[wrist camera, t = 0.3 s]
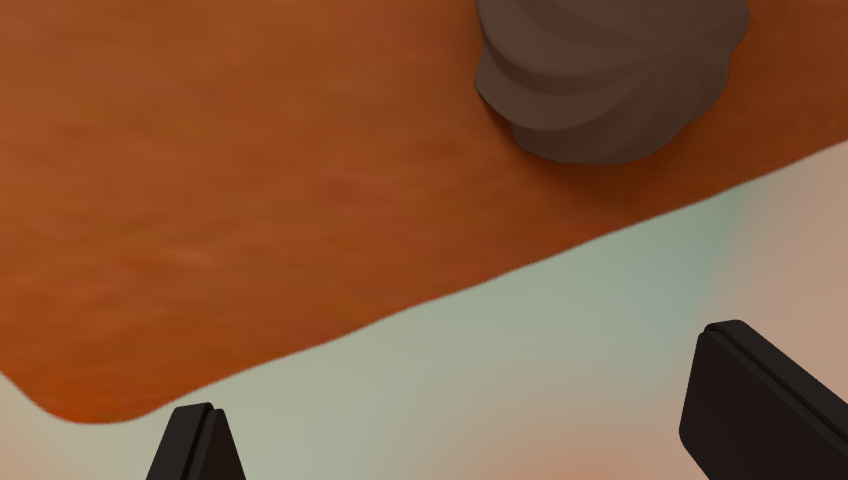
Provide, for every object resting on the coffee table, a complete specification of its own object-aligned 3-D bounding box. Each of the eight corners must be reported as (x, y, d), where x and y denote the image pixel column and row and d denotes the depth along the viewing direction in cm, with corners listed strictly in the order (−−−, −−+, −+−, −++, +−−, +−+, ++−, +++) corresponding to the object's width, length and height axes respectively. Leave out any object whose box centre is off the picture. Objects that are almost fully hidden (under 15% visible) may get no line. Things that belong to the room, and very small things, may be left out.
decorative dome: (550, 207, 43) (606, 261, 35) (416, -2, 35) (444, -3, 26) (752, 66, 41) (869, 85, 32) (660, -197, 32) (784, -272, 23)
